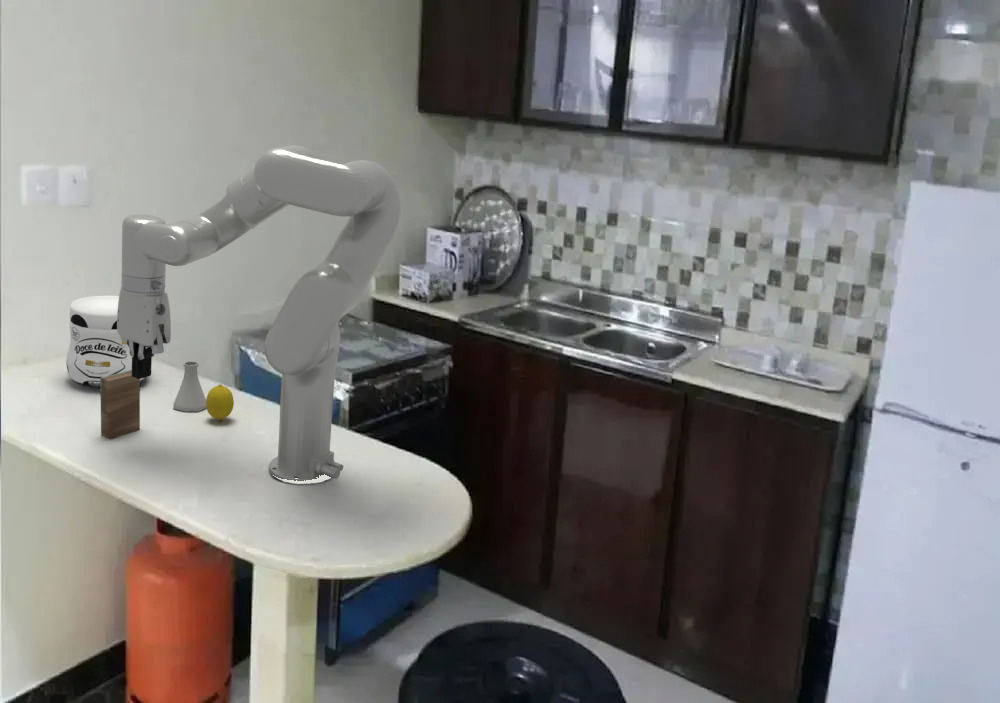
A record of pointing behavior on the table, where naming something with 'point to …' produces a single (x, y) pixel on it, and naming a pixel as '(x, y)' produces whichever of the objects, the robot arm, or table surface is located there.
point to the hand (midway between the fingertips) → (141, 376)
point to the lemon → (219, 402)
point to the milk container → (96, 341)
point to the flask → (190, 390)
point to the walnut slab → (119, 404)
